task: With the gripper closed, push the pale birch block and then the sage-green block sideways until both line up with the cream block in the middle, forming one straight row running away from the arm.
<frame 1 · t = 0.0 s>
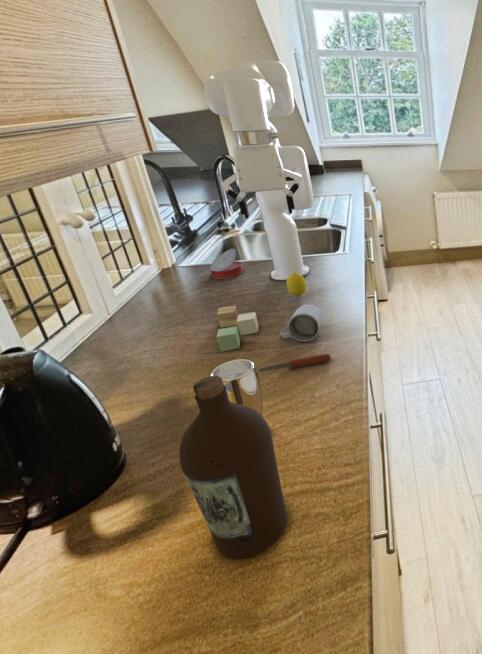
hand: (269, 214, 107), 31 cm above the countertop, tool pointing down, fingers open, 9 cm apart
canned food: (227, 274, 161), on the countertop
lemon: (298, 297, 140), on the countertop
ceramic mug: (303, 336, 117), on the countertop
beer glass: (252, 440, 82), on the countertop
sage block: (230, 346, 113), on the countertop
birch block: (229, 323, 125), on the countertop
cream block: (249, 330, 120), on the countertop
kitchen knife: (295, 368, 103), on the countertop
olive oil: (252, 530, 65), on the countertop
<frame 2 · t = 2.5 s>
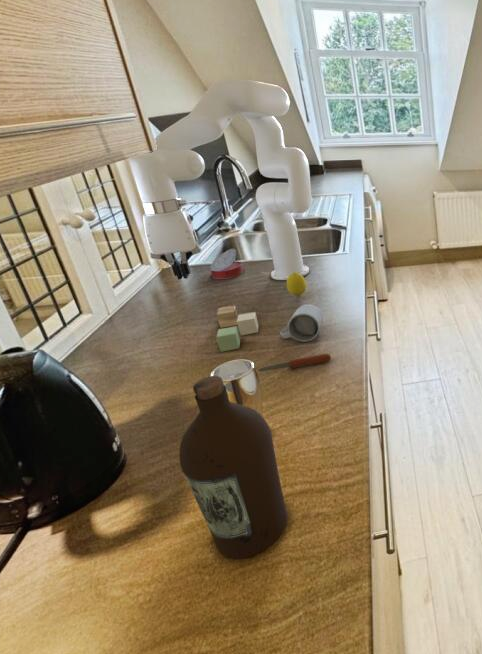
hand: (183, 277, 116), 15 cm above the countertop, tool pointing down, fingers closed
nothing on the countertop moved.
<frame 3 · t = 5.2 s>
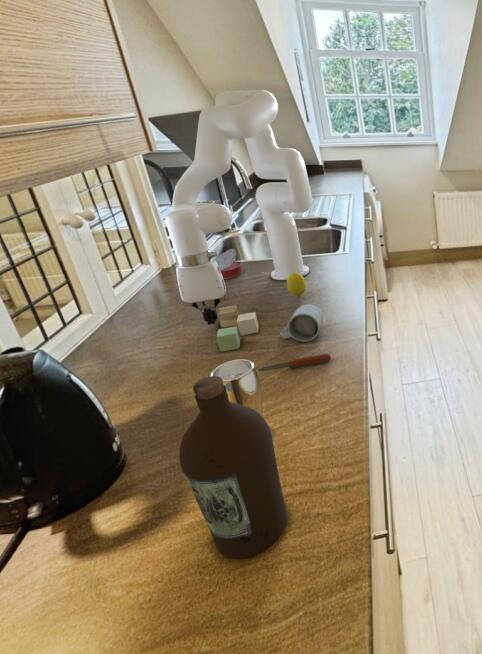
hand: (212, 322, 123), 1 cm above the countertop, tool pointing down, fingers closed
birch block: (230, 323, 125), on the countertop, touching gripper
everything else where it was.
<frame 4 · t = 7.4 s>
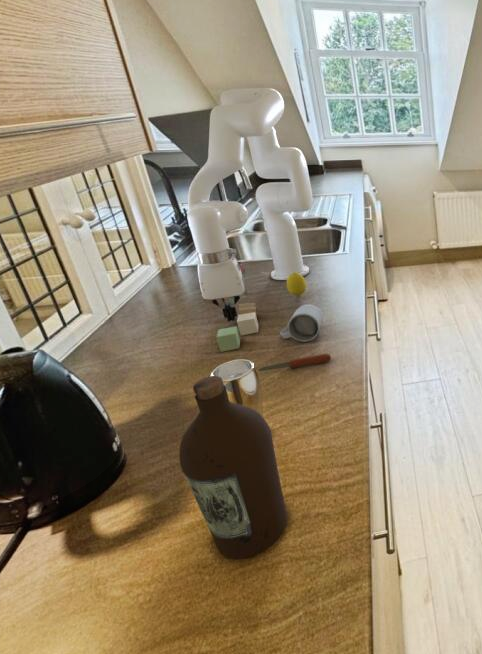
hand: (231, 319, 124), 1 cm above the countertop, tool pointing down, fingers closed
birch block: (248, 320, 126), on the countertop, tilted 7°
everything else where it was.
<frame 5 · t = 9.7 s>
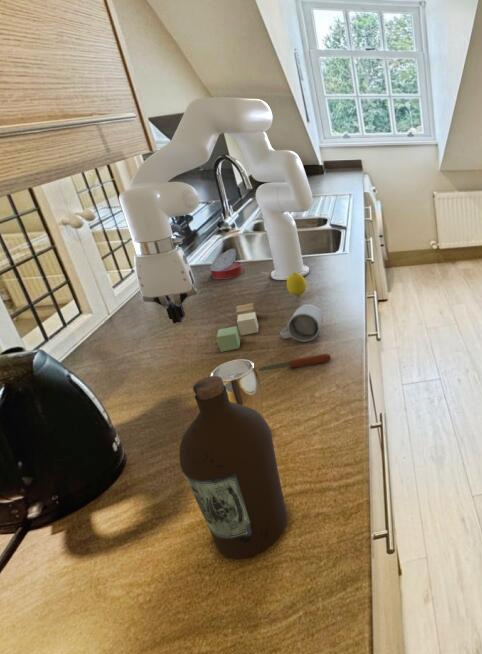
hand: (178, 320, 106), 9 cm above the countertop, tool pointing down, fingers closed
birch block: (248, 320, 126), on the countertop
everything else where it was.
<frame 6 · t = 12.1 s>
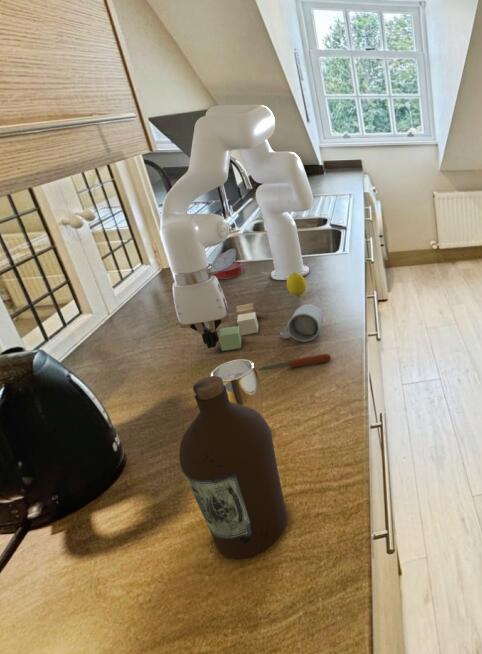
hand: (212, 345, 111), 1 cm above the countertop, tool pointing down, fingers closed
sage block: (231, 345, 113), on the countertop, touching gripper
everything else where it was.
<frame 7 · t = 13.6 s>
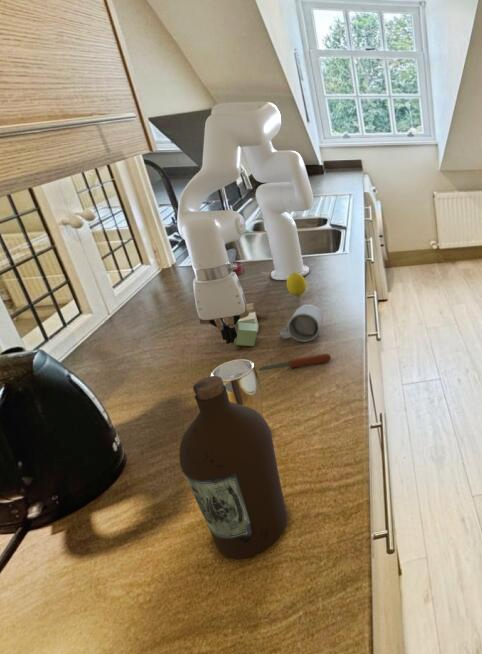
hand: (231, 340, 112), 2 cm above the countertop, tool pointing down, fingers closed
sage block: (245, 341, 114), point 1 cm above the countertop, tilted 20°, touching gripper
everything else where it was.
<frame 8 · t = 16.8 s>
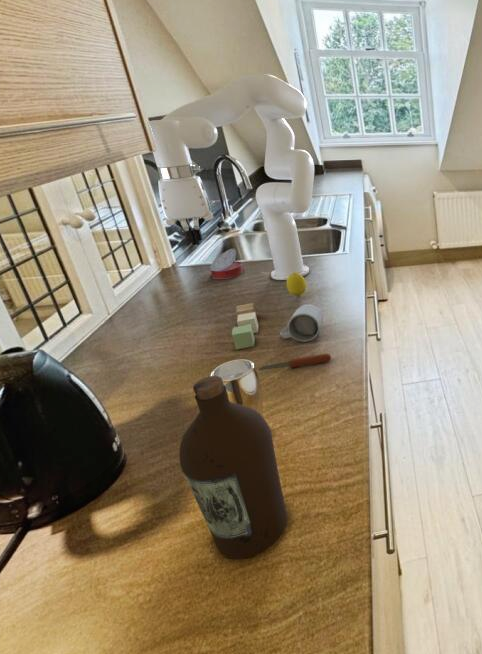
hand: (196, 243, 119), 22 cm above the countertop, tool pointing down, fingers closed
sage block: (245, 344, 114), on the countertop
everything else where it was.
at the end: birch block 0.9 cm from the target spot, on the countertop; sage block 0.7 cm from the target spot, on the countertop; cream block moved 0.0 cm from its start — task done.
